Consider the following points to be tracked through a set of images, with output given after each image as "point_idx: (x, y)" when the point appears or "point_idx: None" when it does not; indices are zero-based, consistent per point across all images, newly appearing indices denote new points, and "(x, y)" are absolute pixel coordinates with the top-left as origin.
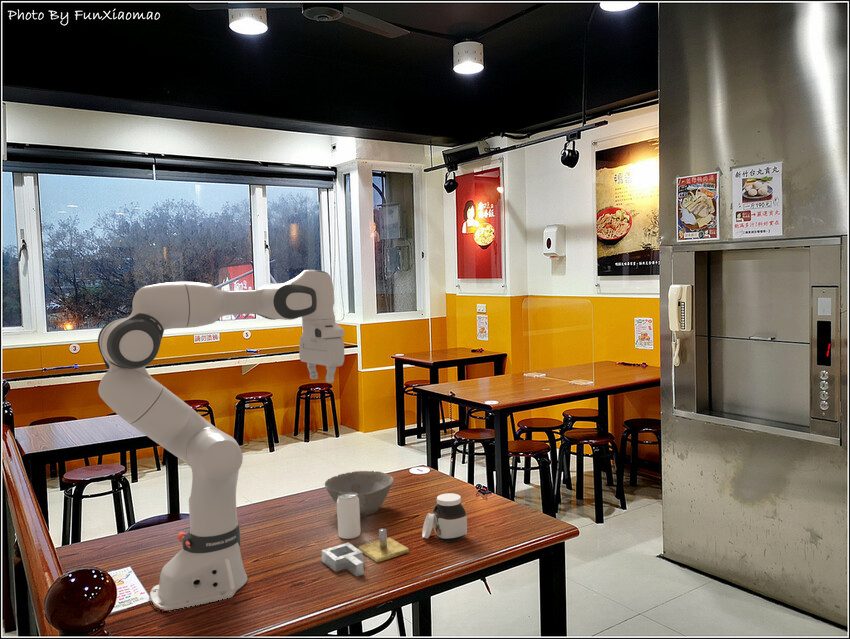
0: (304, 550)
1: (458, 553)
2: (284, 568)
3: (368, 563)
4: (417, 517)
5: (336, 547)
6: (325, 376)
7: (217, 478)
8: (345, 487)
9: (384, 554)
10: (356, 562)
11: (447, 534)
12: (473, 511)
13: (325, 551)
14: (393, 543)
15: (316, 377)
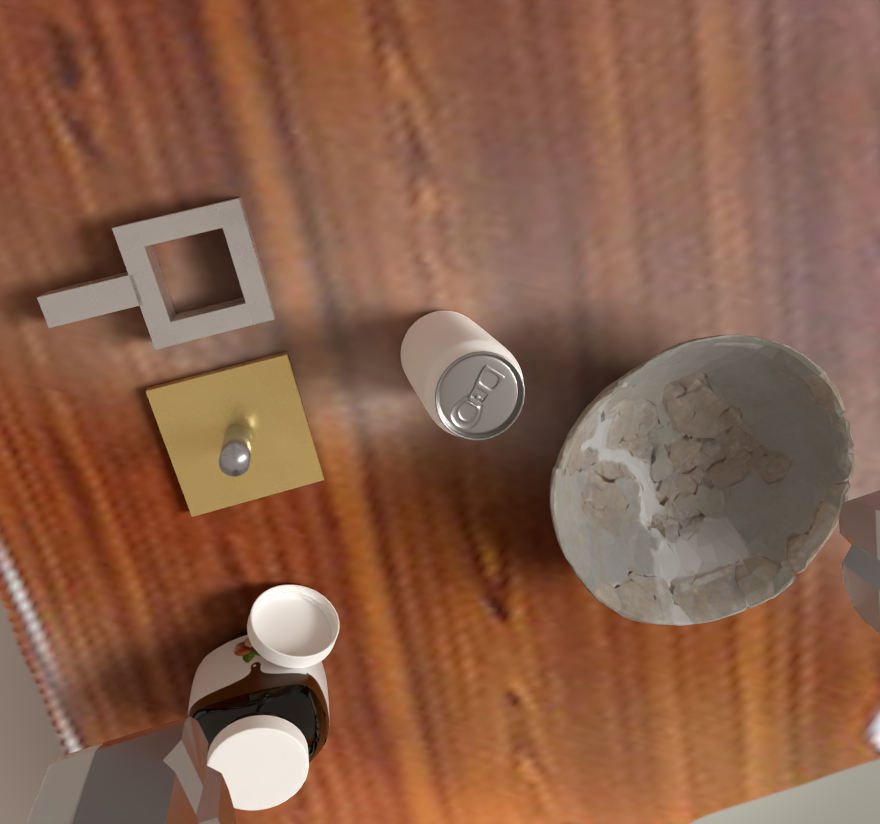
0: (378, 153)
1: (117, 654)
2: (236, 36)
3: (153, 357)
4: (485, 611)
5: (243, 263)
6: (150, 819)
7: None
8: (785, 429)
9: (174, 426)
10: (60, 304)
11: (202, 664)
12: (442, 783)
13: (220, 211)
14: (260, 479)
15: (863, 591)
